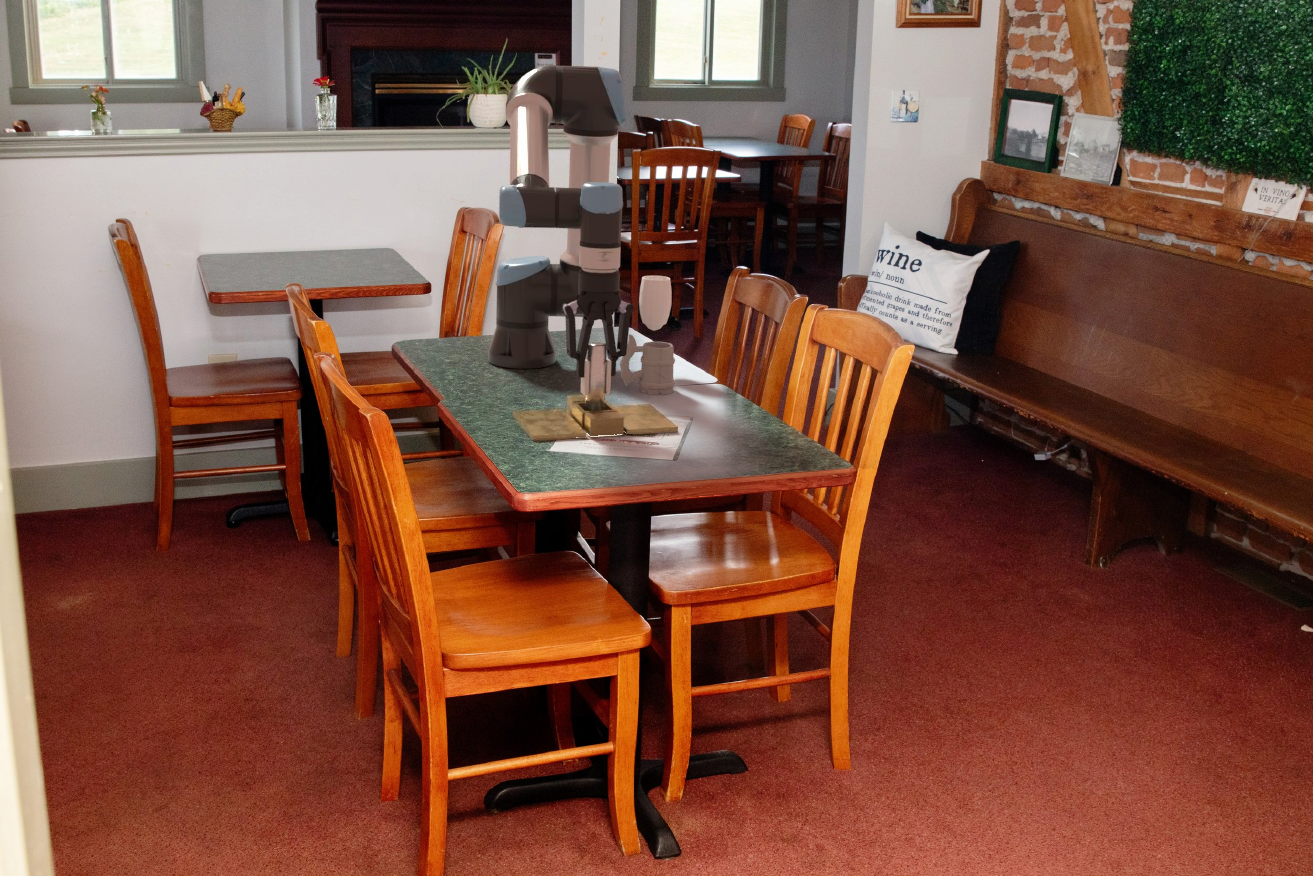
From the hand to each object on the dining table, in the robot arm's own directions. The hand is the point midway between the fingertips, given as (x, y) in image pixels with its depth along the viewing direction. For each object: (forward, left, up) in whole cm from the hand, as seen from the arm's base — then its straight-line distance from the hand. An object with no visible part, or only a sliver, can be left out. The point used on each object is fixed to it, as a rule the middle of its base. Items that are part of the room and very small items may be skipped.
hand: (595, 393), depth 233 cm
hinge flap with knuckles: (0, +5, -6) cm, 8 cm away
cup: (-39, +25, -6) cm, 47 cm away
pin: (0, 0, -5) cm, 5 cm away
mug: (-22, +18, -6) cm, 29 cm away
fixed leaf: (0, -5, -6) cm, 8 cm away
